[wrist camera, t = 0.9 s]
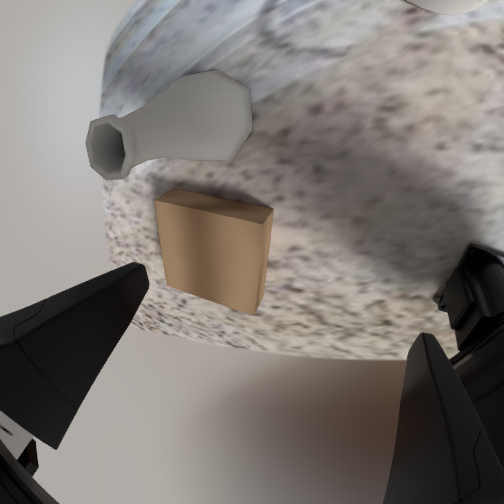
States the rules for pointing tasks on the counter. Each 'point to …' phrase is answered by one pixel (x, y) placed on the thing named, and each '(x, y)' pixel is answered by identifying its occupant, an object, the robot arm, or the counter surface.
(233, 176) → the counter surface
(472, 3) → the pill bottle
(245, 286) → the square wooden block
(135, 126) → the flask
